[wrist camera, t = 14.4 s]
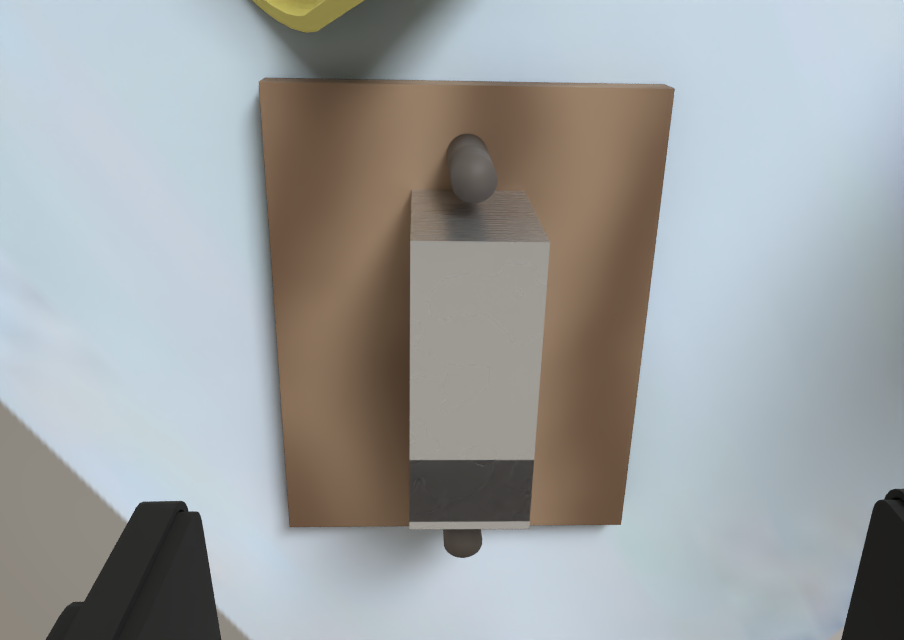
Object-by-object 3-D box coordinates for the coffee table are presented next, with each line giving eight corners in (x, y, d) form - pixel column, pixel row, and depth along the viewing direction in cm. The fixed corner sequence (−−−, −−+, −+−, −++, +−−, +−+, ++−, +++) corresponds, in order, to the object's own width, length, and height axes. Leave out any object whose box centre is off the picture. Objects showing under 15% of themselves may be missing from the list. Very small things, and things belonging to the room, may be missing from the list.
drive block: (525, 191, 29) (550, 242, 23) (510, 435, 33) (529, 528, 27) (411, 189, 29) (410, 240, 23) (410, 435, 33) (409, 529, 27)
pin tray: (664, 84, 29) (714, 106, 24) (614, 507, 36) (645, 590, 31) (264, 77, 28) (233, 98, 23) (293, 509, 35) (274, 594, 30)
